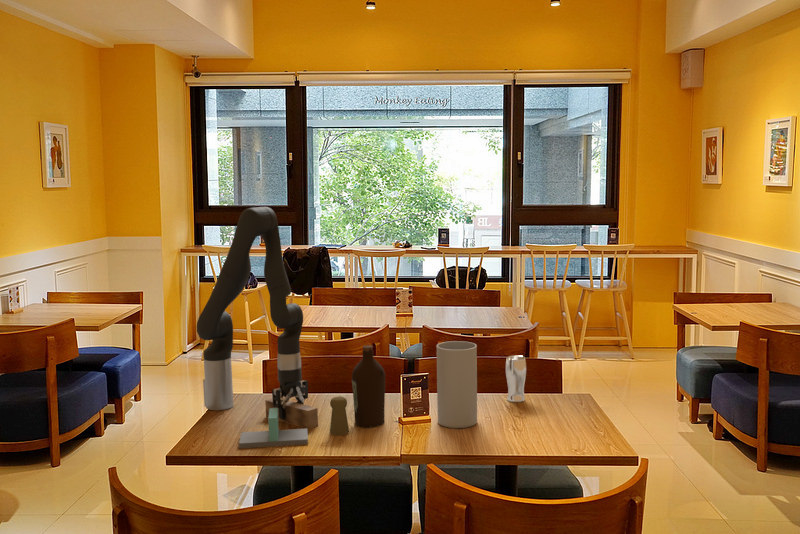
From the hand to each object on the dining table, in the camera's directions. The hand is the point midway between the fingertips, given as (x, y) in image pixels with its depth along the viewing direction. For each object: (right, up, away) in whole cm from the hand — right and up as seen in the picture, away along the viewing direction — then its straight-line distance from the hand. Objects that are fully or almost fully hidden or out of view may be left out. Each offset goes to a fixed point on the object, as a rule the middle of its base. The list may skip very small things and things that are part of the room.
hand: (291, 416), depth 255 cm
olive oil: (+25, -2, -3) cm, 26 cm away
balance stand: (-3, -4, -18) cm, 18 cm away
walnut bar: (0, -2, 0) cm, 2 cm away
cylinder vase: (+53, -1, -4) cm, 53 cm away
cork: (+16, -3, -11) cm, 20 cm away
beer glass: (+75, +2, +19) cm, 78 cm away
